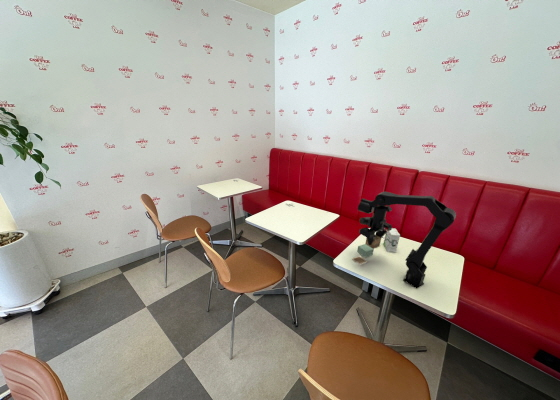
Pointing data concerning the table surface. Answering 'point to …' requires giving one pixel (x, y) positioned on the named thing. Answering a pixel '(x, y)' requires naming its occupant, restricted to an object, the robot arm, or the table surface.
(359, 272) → the table surface
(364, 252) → the base block
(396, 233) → the ink box
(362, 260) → the swatch
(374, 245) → the walnut cube
